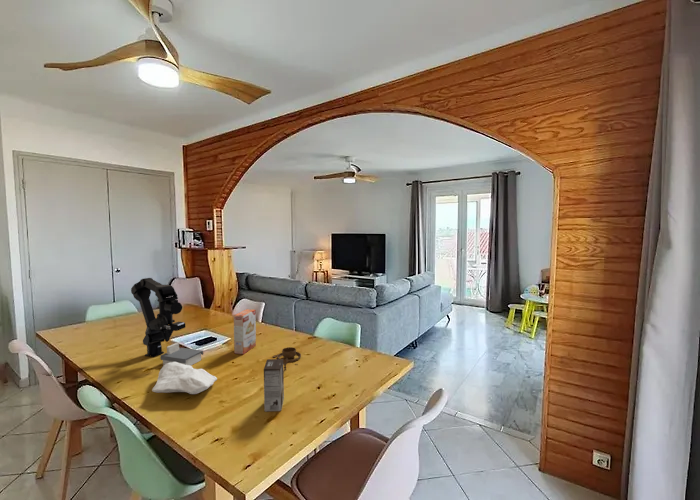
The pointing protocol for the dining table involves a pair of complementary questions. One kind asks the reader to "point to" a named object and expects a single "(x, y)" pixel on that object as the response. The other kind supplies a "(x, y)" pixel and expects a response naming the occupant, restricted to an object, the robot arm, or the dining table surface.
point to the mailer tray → (188, 360)
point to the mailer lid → (179, 353)
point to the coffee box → (273, 385)
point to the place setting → (288, 355)
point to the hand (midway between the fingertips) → (167, 341)
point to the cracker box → (244, 331)
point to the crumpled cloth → (182, 379)
